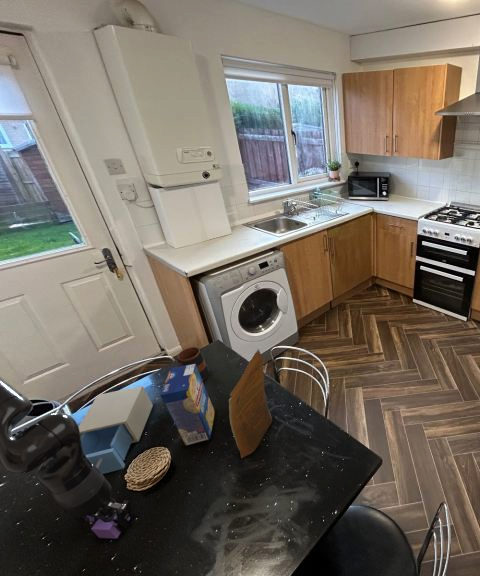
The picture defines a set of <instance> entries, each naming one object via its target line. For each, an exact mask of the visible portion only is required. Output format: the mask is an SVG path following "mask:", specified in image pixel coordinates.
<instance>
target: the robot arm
mask: <svg viewBox="0 0 480 576" xmlns="http://www.w3.org/2000/svg"><path fill="white" fill-rule="evenodd" d="M33 409H34V404H33V402H32V401H31V400H30V399H29V398H28V397H26V396H25V395H24V394H23V393H21V392H20V391H19V390H18V389H16V387H14V386H12V385H11V384H10V383H8V382H7V381H6V380H5V379H4V378H2V376H0V464H1V465H2V467H3V468H4V469H5V470H6V471H8V472H10V473H13V474H26V473H27V474H28V473H29V472H32V471H34V470H35V469H37V468H38V469H37V471H36V478H37V480H38V481H39V483H41V485H42V486H44V487H45V489H46V490H47V491H48V492H49V493H50V494H51V496H52V498H53V500H54V501H55V502H56V503H57V505H59V506H60V507H61V508H62V509H63V512H64V513H66V514H67V515H68V516H70V517H71V518H73V519H74V520H76V521H78V522H79V523H80V524H85V523H86V522H87V524H89V525H90V526H94V524H95V523H96V522H97V520H98V519H100V520H102V521H103V522H105V523H107V522H110V523H111V524H113V525H114V526H115V527H116V529H117V530H118V531H119V532H121V533H124V532H125V530H126V529H127V527H128V526H129V525H130V520H129V521H128V520H127V519H128V517H130V516H131V514H133V513H132V508H131V503H130V501H129V500H124V501H122V503H118V502H117V500H116V499H114V498H113V497H112V485H111V483H110V482H109V480H108V479H107V478H106V477H105V475H104V474H102V473H101V472H100V470H99V469H98V468H97V467H96V466H95V465H93V464H92V463H91V461H90V460H89V459H88V458H87V456H86V455H85V454H84V452H83V448H82V444H81V437H80V431H79V427H78V426H79V424H78V423H77V421H76V419H75V418H74V417H73V416H71V415H69V414H67V413H63V412H52V413H50V414H48V415H47V414H46V416H43V417H42V418H41V419H39V420H37V421H36V422H35V423H33V424H31V425H30V426H28V427H26V428H25V429H23V430H22V431H21V432H19V433H17V434H16V435H14V436H13V434H12V431H13V429H14V428H15V427H16V426H17V425H18V424H19V423H20V422H21V421H22V420H24V419H25V418H26V417H27V416H28V415H29V414H30V413H31V411H32V410H33ZM115 515H117V518H116V519H114V516H115ZM106 516H108V517H106Z"/></svg>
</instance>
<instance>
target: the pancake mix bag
mask: <svg viewBox="0 0 480 576" xmlns="http://www.w3.org/2000/svg"><path fill="white" fill-rule="evenodd" d="M265 382H266V381H265V373H264V359H263V356H262V353H261V351H260V349H259V348H258V349H257V350H256V352H255V353H254V355H253V356H252V358H251V359H250V361H249V363H248V364H247V366H246V368H245V370H244V372H243V374H242V375H241V377H240V378H239V380H238V382H237V383H236V384H235V386H234V387H233V389H232V390H231V392H230V393H229V396H230V397H229V399H228V411H229V412H228V413H229V414H228V415H229V425H230V427H231V432H232V434H233V437H234V440H235V443H236V446H237V449H238V451H239V454H240V458H241V459H243V458H245V457H247V456H249V455H251V454H252V453H254V452H255V451H256V450H257V448H258V446H259V445H260V444H261V442H262V440H263V438H264V437H265V434H266V433H267V431H268V429H269V428H270V426H271V425H272V423H273V417H272V414H271V412H270V410H269V405H268V400H267V396H266V392H265Z"/></svg>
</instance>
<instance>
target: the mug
mask: <svg viewBox="0 0 480 576" xmlns="http://www.w3.org/2000/svg"><path fill="white" fill-rule="evenodd" d="M176 360H177V363H178V364H177V365H175V366H174V368H176V367H181V366H185V365H190V364H195V363H196V366H197V368H198V371H199V373H200V376H201V378H202V381H203V382H204V380H206V379H207V378H208V377H209V374H210V368H209V365H208V364H207V362H206V361H205V357H204V354H203V351H202V350H201V348H199V347H198V346H191V347H187V348H184V349H182V350H181V351H180V352H179V353H177V356H176Z"/></svg>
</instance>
